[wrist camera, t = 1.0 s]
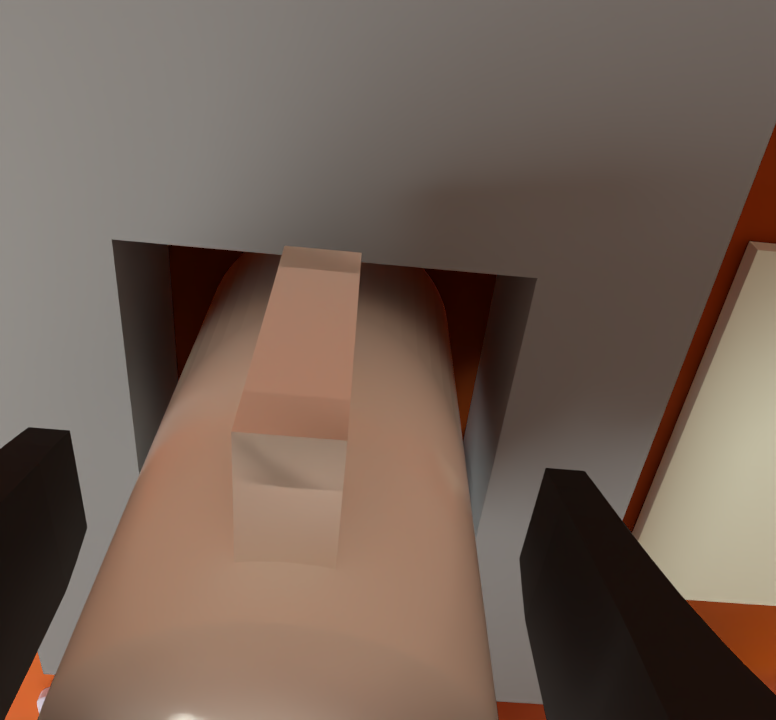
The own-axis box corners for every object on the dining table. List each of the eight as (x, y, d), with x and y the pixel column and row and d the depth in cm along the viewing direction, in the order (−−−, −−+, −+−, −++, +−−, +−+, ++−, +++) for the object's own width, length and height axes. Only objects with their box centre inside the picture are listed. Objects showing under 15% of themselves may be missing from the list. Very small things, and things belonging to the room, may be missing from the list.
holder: (531, 601, 20) (551, 704, 18) (88, 571, 20) (43, 674, 17) (743, -66, 11) (842, -50, 9) (-48, -160, 11) (-181, -171, 8)
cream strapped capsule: (427, 459, 17) (455, 903, 10) (215, 443, 17) (78, 886, 10) (478, 157, 13) (592, 516, 6) (202, 129, 13) (-49, 468, 6)
